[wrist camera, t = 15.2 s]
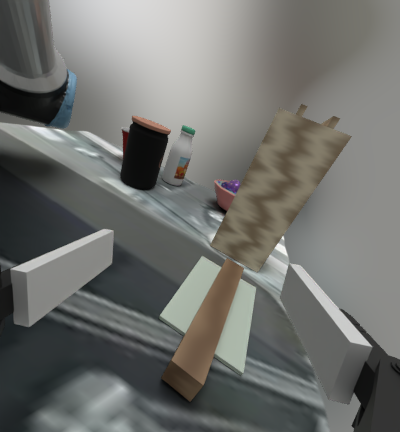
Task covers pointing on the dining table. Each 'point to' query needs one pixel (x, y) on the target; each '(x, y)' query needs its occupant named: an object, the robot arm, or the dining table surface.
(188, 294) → the mat
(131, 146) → the coffee jar
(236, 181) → the cell model
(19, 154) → the dining table surface
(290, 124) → the wooden block tower
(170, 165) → the milk bottle
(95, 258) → the robot arm
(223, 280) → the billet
